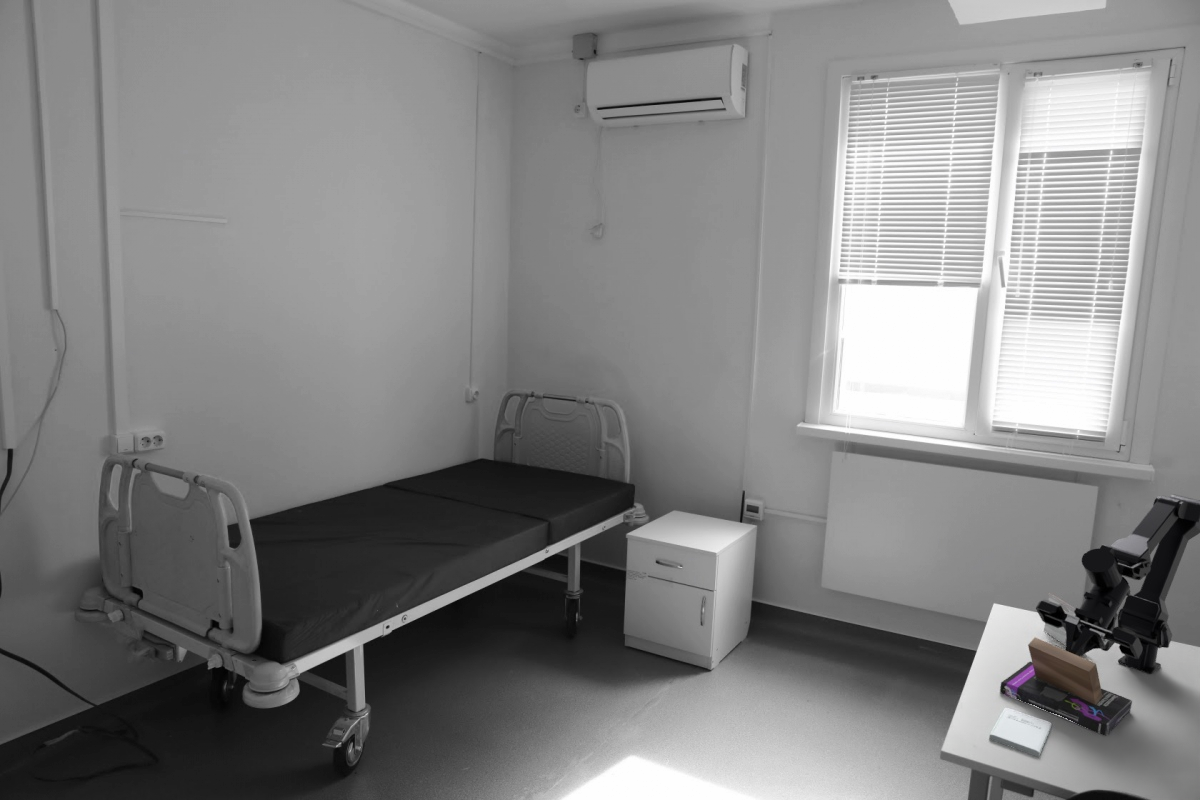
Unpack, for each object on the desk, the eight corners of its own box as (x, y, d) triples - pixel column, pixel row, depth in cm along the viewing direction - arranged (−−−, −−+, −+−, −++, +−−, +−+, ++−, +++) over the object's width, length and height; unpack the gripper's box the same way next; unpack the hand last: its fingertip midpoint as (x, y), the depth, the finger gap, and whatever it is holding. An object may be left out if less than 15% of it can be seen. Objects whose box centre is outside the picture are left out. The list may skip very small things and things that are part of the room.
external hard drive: (988, 741, 149) (1003, 713, 158) (1038, 760, 144) (1051, 730, 153) (989, 733, 148) (1004, 706, 158) (1039, 751, 143) (1052, 722, 153)
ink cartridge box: (1052, 630, 196) (1058, 592, 194) (1084, 652, 185) (1090, 612, 183) (1042, 630, 196) (1048, 592, 194) (1074, 652, 185) (1080, 612, 183)
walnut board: (1042, 669, 168) (1035, 637, 164) (1102, 696, 158) (1096, 663, 154) (1035, 676, 167) (1028, 644, 164) (1095, 704, 157) (1089, 671, 153)
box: (998, 697, 166) (1105, 740, 151) (1000, 681, 165) (1108, 722, 150) (1027, 676, 175) (1131, 715, 160) (1029, 660, 174) (1133, 698, 159)
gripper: (1163, 638, 162) (1127, 704, 158) (1067, 603, 178) (1032, 662, 173) (1151, 608, 157) (1113, 675, 152) (1053, 575, 172) (1017, 635, 168)
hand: (1067, 662), depth 162 cm, fingers closed
